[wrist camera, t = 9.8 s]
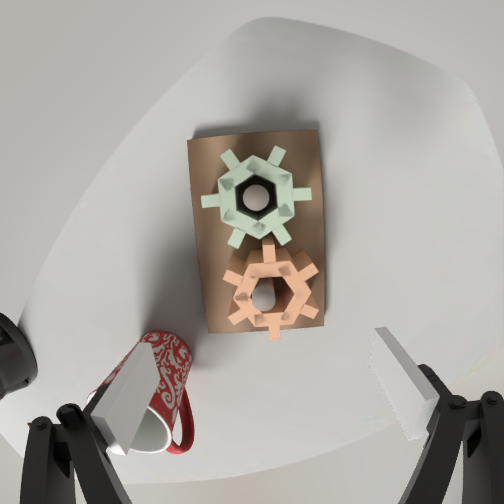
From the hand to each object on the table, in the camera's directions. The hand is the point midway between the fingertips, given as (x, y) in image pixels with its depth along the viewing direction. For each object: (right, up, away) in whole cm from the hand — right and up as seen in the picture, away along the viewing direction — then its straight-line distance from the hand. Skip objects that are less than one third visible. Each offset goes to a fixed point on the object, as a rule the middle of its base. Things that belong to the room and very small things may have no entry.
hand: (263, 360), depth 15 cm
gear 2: (+1, +3, +14) cm, 15 cm away
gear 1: (0, +12, +12) cm, 17 cm away
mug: (-11, -8, +19) cm, 24 cm away
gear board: (0, +8, +15) cm, 17 cm away
